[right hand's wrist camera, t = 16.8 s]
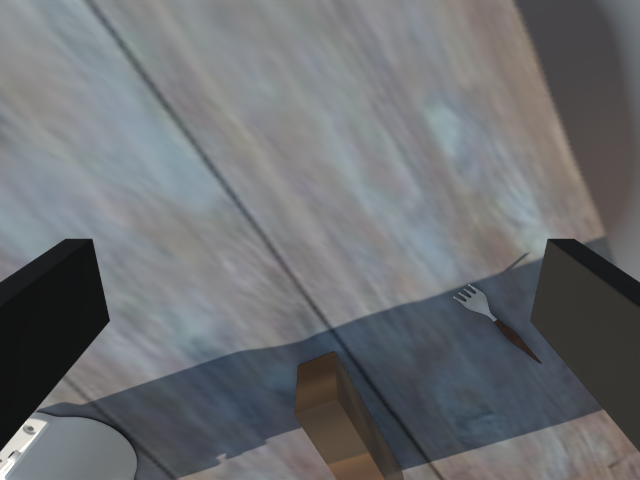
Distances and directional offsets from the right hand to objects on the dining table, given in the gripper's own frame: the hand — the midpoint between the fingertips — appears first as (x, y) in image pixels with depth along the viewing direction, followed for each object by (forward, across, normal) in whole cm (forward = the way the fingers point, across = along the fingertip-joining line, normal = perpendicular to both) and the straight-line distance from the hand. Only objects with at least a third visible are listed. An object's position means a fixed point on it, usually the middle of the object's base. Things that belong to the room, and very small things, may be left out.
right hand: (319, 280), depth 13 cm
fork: (+32, +22, -22) cm, 45 cm away
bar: (+32, +4, -38) cm, 50 cm away
